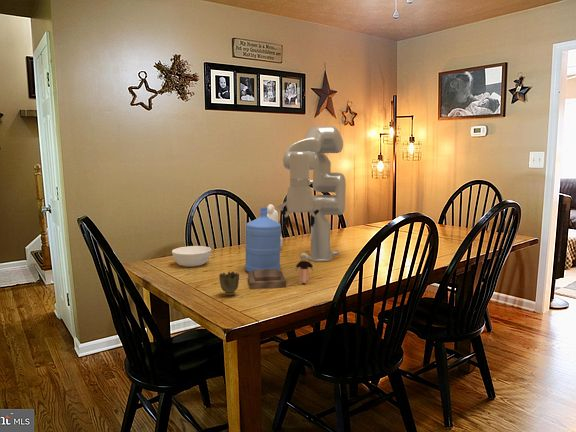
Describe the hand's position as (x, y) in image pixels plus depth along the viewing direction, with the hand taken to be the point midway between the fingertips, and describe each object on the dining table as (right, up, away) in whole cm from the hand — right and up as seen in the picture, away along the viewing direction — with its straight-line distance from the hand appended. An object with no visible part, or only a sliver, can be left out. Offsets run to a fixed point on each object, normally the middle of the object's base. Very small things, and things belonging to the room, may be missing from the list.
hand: (299, 226), depth 181 cm
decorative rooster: (-16, -15, +61) cm, 65 cm away
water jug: (-16, -20, +22) cm, 34 cm away
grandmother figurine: (+2, -23, +2) cm, 23 cm away
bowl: (-50, -19, +35) cm, 64 cm away
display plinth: (-13, -23, +4) cm, 27 cm away
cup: (-26, -25, -12) cm, 39 cm away
